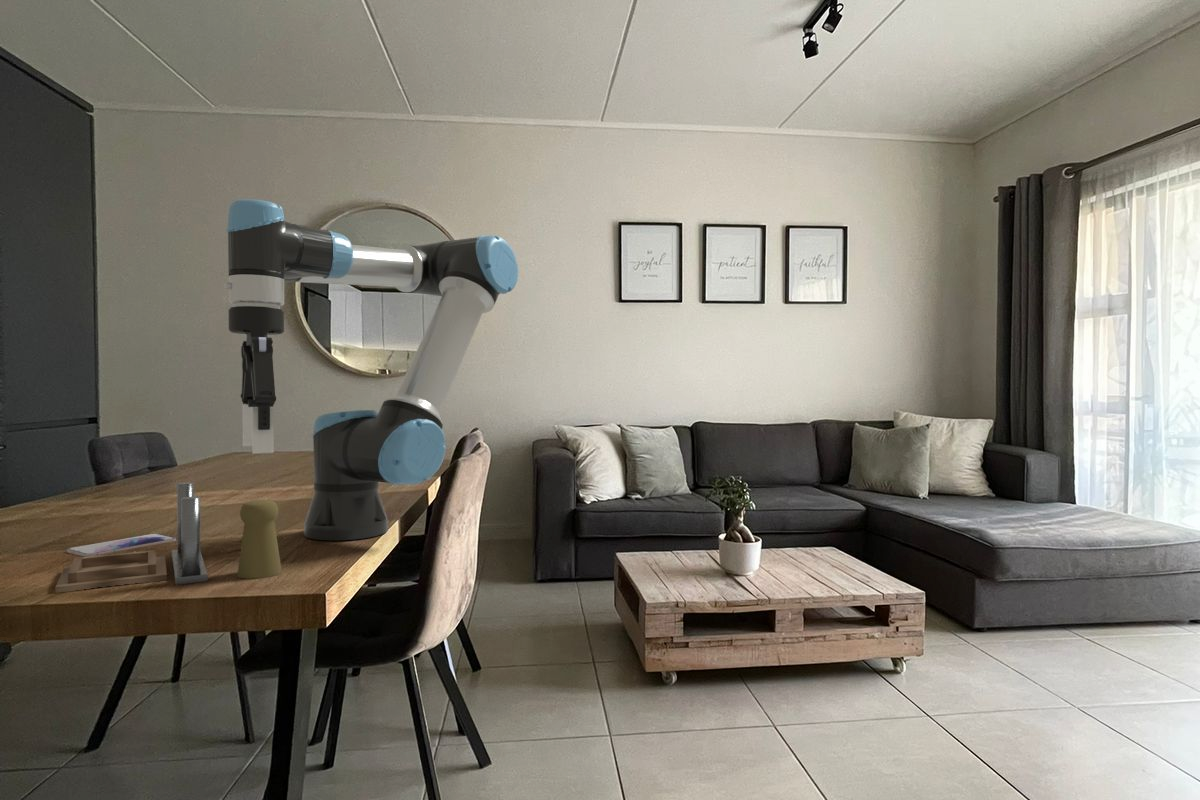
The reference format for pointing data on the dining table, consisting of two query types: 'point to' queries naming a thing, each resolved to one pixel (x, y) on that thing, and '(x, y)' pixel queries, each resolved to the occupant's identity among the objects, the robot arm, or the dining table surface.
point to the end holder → (112, 571)
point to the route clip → (188, 538)
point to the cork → (259, 540)
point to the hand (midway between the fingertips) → (257, 449)
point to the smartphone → (119, 545)
